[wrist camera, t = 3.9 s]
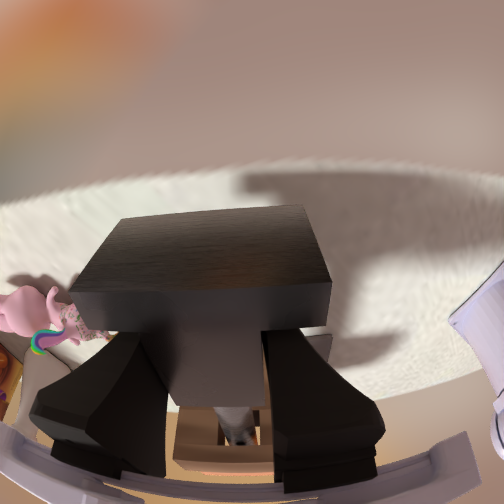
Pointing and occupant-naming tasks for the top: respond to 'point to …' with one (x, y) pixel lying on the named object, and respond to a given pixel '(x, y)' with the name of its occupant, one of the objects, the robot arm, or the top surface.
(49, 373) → the flask
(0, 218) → the top surface
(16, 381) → the candy box
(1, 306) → the pink toy animal
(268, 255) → the shaft
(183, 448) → the bracket
